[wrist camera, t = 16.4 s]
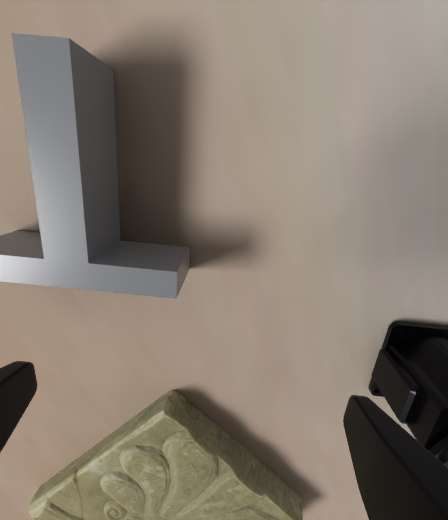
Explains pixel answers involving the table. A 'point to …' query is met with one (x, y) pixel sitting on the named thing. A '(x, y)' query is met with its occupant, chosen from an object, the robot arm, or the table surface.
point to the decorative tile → (167, 474)
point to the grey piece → (78, 182)
